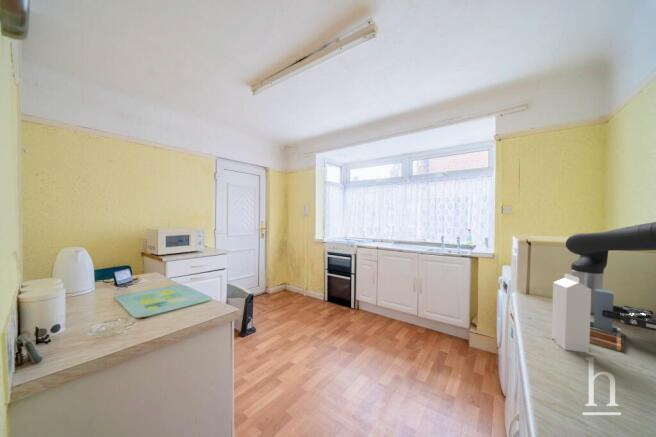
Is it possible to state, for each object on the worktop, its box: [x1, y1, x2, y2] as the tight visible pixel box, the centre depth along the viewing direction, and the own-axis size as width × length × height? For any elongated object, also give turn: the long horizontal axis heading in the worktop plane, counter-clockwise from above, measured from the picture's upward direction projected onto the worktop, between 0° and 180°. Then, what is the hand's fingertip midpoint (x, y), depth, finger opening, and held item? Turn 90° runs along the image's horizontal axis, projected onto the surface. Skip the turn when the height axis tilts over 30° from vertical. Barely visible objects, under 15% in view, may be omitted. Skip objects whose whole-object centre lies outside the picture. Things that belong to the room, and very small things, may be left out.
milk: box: [551, 273, 591, 353], centre depth 73 cm, size 6×6×22 cm
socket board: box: [589, 320, 626, 354], centre depth 77 cm, size 19×9×2 cm, turn 129°
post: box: [593, 289, 615, 332], centre depth 80 cm, size 4×4×14 cm
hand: (602, 309), depth 80 cm, fingers open, 8 cm apart
